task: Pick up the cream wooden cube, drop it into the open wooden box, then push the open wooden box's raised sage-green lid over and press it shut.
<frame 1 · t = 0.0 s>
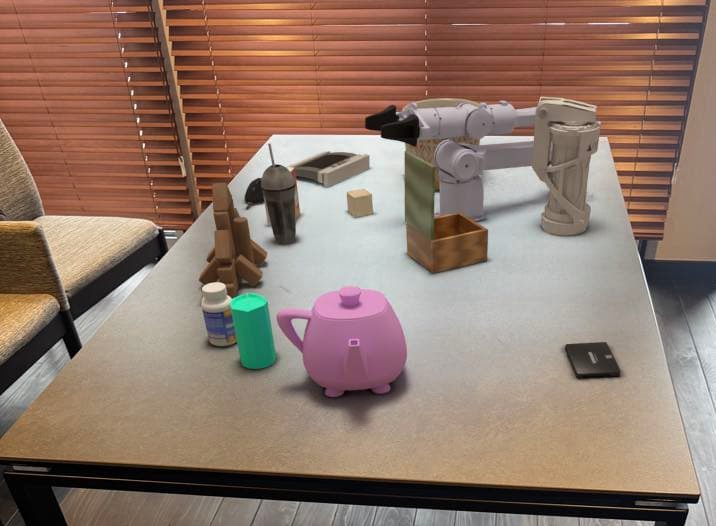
hand: (373, 127, 159), 22 cm above the table, tool horizontal, fingers open, 7 cm apart
teapot: (347, 386, 127), on the table
small box: (284, 221, 183), on the table
candle: (258, 361, 134), on the table
beverage cup: (285, 241, 173), on the table
wooden blocks: (235, 277, 160), on the table
lid: (419, 195, 153), point 13 cm above the table, hinge at 88.0°
solid state drive: (591, 362, 129), on the table
pill bottle: (224, 340, 140), on the table
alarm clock: (325, 173, 207), on the table
cube: (360, 212, 184), on the table
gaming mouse: (259, 199, 194), on the table
lantern: (558, 227, 174), on the table
open wooden box: (446, 257, 163), on the table
planter: (442, 181, 200), on the table
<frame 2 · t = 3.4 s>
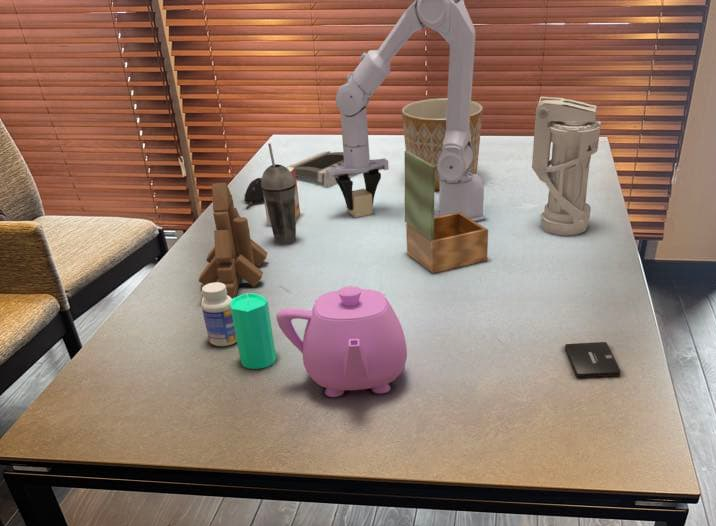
hand: (360, 206, 183), 1 cm above the table, tool pointing down, fingers closed on cube, 4 cm apart
cube: (360, 212, 184), on the table, touching gripper
everything else where it was.
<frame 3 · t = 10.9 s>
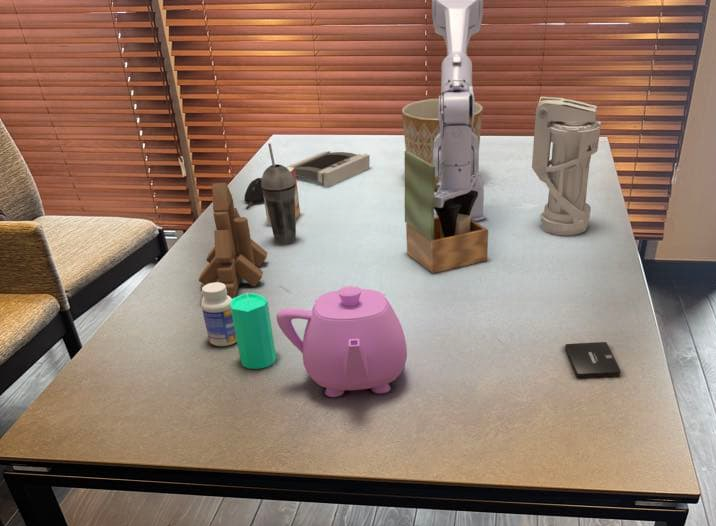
hand: (455, 232, 161), 5 cm above the table, tool pointing down, fingers closed on cube, 4 cm apart
cube: (455, 239, 162), point 3 cm above the table, touching gripper
everything else where it was.
when the fingers open (8 cm above the table, at t = 25.4 s): cube drops 6 cm, resting on open wooden box.
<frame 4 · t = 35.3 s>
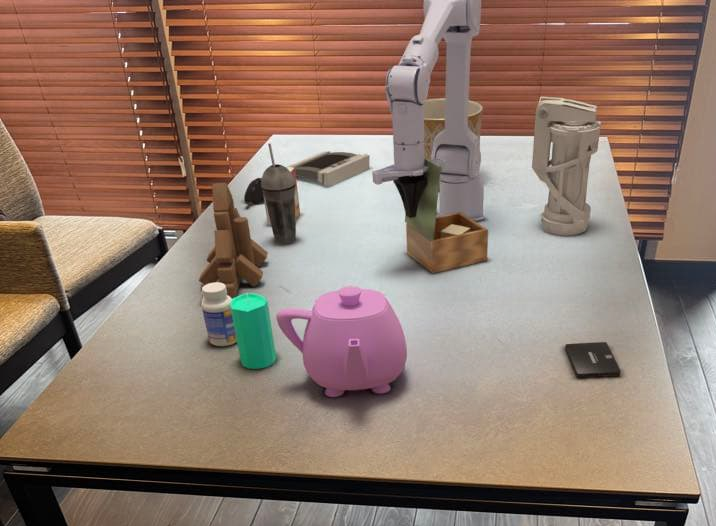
hand: (410, 215, 154), 10 cm above the table, tool pointing down, fingers closed
lid: (421, 195, 153), point 13 cm above the table, hinge at 82.8°, touching gripper
cube: (455, 251, 164), point 1 cm above the table, touching open wooden box
everything else where it was.
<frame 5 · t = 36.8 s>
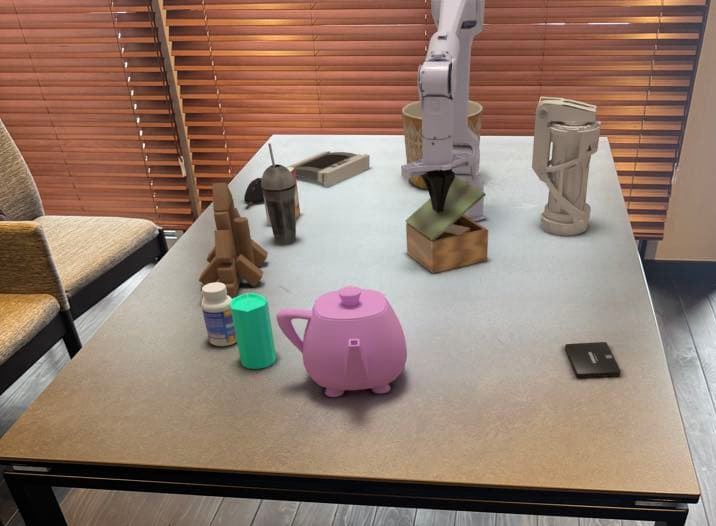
hand: (437, 210, 156), 10 cm above the table, tool pointing down, fingers closed
lid: (444, 208, 157), point 10 cm above the table, hinge at 30.0°, touching gripper
everything else where it was.
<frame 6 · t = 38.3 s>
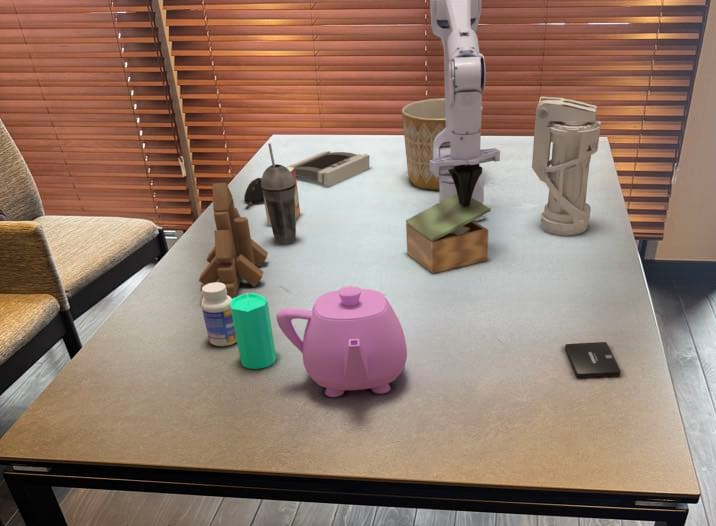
hand: (464, 204, 158), 10 cm above the table, tool pointing down, fingers closed
lid: (447, 215, 158), point 8 cm above the table, hinge at 15.0°, touching gripper
everything else where it was.
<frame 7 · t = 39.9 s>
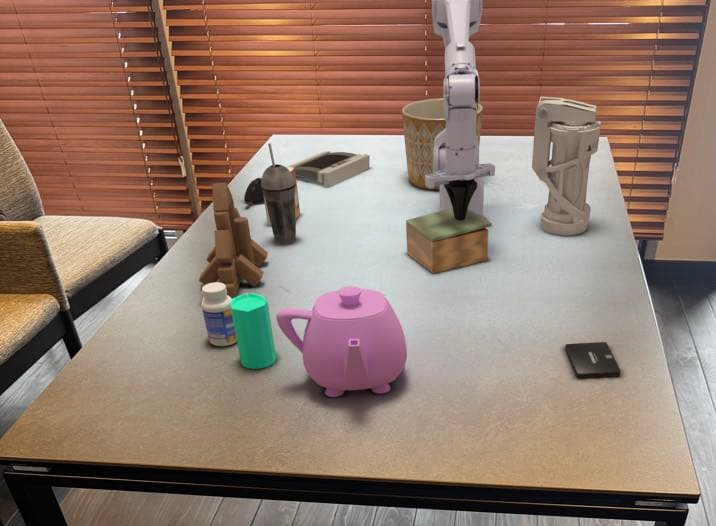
hand: (459, 218, 159), 7 cm above the table, tool pointing down, fingers closed, pressing on lid
lid: (448, 223, 159), point 7 cm above the table, hinge at 2.2°, touching gripper
everything else where it was.
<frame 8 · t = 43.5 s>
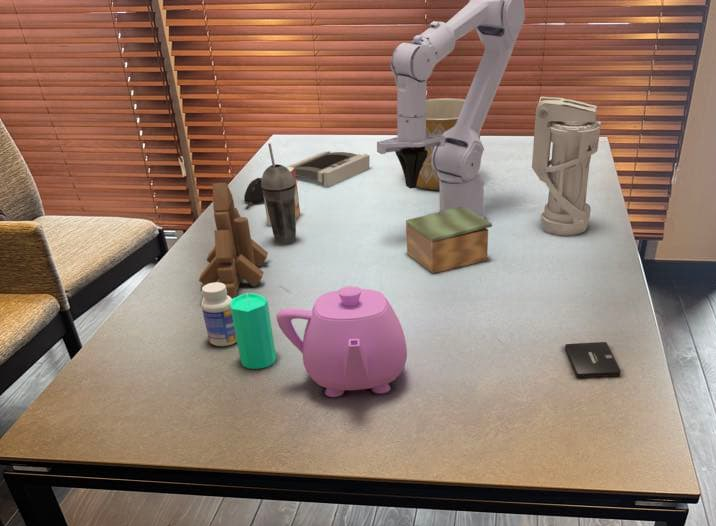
hand: (411, 186, 165), 10 cm above the table, tool pointing down, fingers closed
lid: (448, 223, 159), point 7 cm above the table, hinge at 1.7°
everything else where it was.
at the end: cube inside the target area in the open wooden box (2.1 cm from its centre), point 0.8 cm above the open wooden box's base; lid at +2° (first picture: +88°) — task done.
